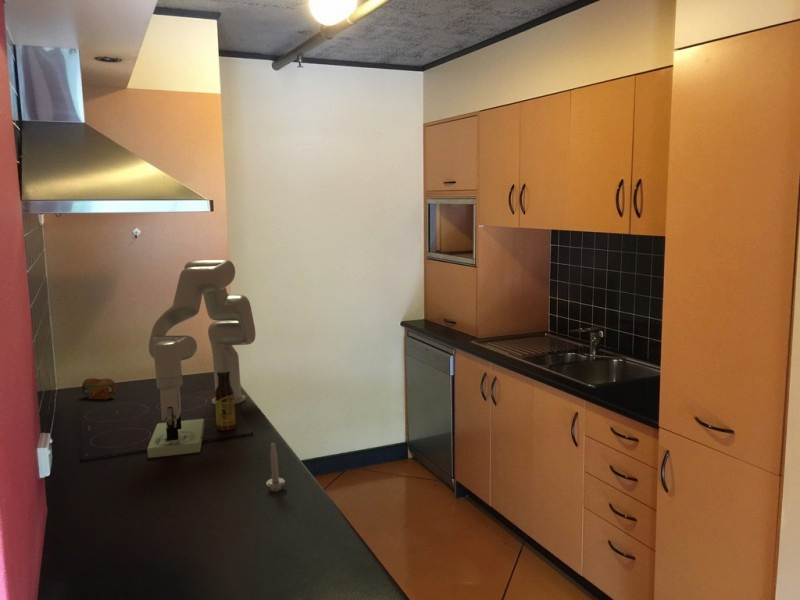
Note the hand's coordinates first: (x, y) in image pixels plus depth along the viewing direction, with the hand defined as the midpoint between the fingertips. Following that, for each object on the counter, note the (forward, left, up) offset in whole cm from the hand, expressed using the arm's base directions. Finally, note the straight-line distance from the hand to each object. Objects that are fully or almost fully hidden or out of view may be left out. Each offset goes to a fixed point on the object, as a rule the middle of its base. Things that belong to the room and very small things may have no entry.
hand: (174, 434), depth 202 cm
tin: (-71, -36, -5) cm, 80 cm away
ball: (-2, 0, -2) cm, 3 cm away
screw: (+40, +29, -5) cm, 49 cm away
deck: (-7, 0, -5) cm, 9 cm away
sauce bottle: (-15, +15, -5) cm, 22 cm away
